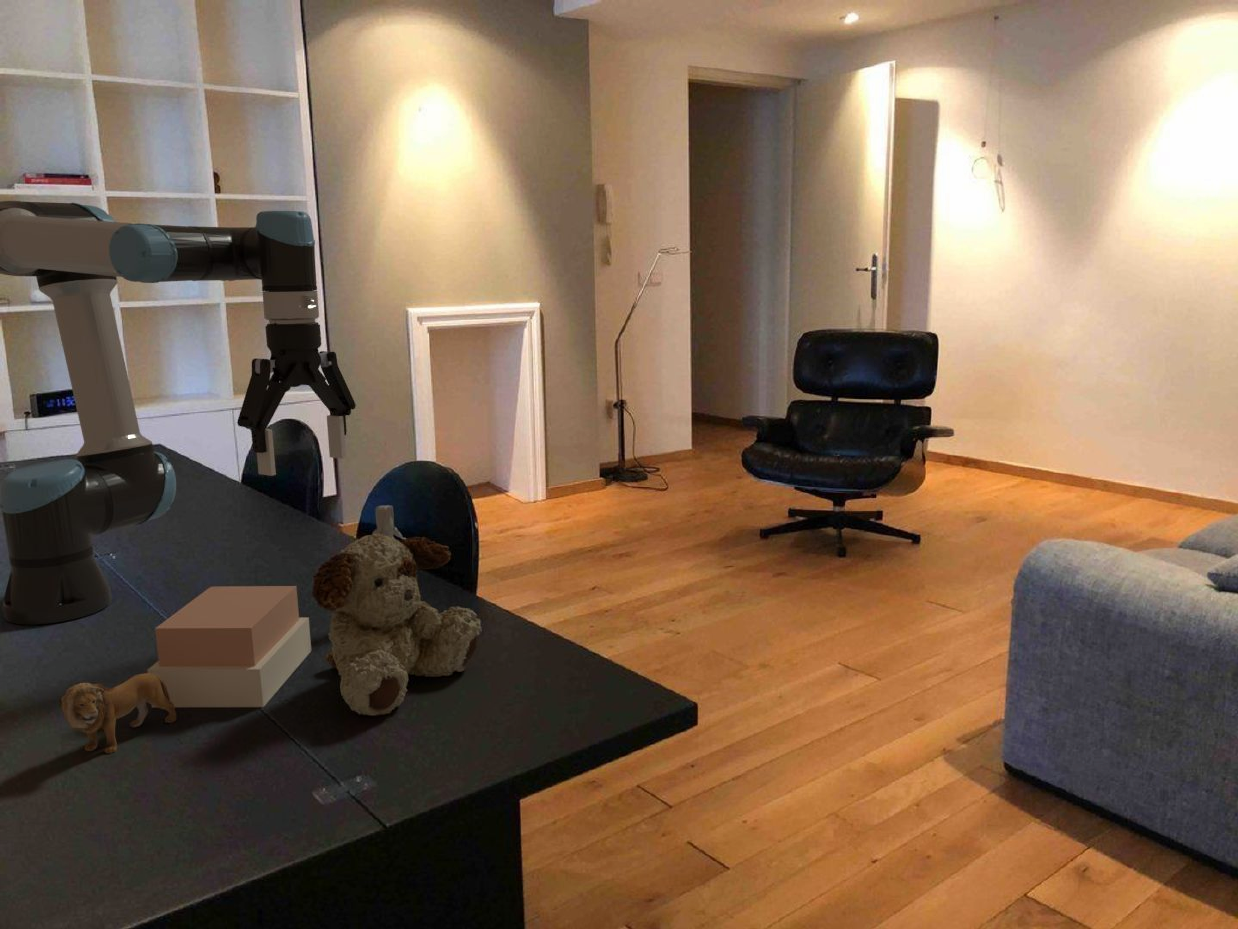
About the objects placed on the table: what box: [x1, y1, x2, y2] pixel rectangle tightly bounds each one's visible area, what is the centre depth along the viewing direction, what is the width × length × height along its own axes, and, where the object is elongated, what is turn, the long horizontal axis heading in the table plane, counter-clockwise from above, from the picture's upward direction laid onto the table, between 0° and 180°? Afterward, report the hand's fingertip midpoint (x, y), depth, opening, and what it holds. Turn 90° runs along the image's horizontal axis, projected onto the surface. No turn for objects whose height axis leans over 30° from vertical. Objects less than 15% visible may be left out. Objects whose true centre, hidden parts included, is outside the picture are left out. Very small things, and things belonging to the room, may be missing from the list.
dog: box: [311, 534, 483, 717], centre depth 127 cm, size 23×19×20 cm
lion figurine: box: [61, 672, 177, 754], centre depth 113 cm, size 15×5×9 cm, turn 162°
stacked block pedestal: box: [147, 585, 312, 708], centre depth 129 cm, size 14×18×10 cm
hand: (304, 466), depth 145 cm, fingers open, 13 cm apart
